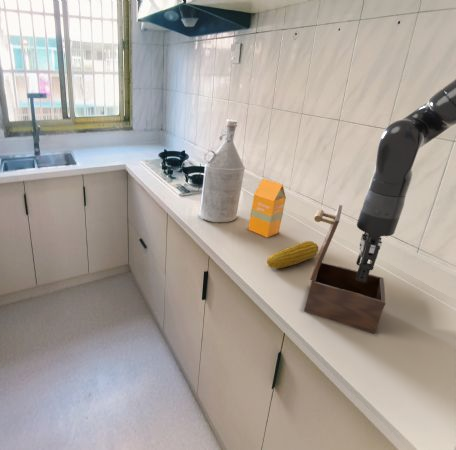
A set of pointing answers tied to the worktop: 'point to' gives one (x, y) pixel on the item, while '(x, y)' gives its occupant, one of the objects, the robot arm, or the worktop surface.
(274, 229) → the orange juice
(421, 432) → the worktop surface
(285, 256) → the food
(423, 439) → the worktop surface
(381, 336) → the worktop surface
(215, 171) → the grey jug
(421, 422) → the worktop surface
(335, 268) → the bin
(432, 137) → the robot arm
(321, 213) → the bread lid
